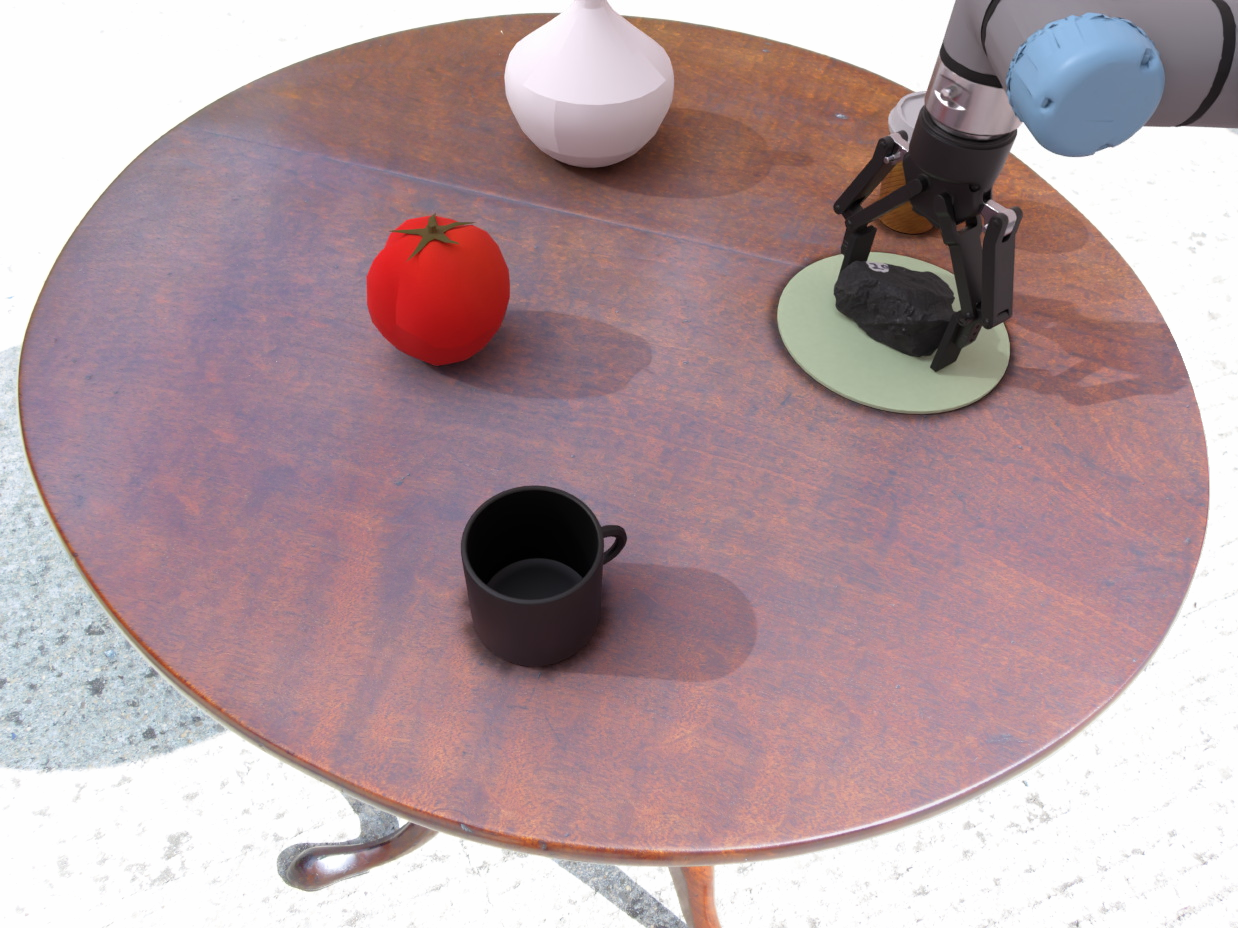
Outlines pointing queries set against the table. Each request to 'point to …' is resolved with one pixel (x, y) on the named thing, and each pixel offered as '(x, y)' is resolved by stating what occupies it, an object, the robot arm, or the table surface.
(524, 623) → the mug
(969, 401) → the mat
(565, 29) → the vase
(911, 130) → the disposable coffee cup
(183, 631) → the table surface
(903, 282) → the rock
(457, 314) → the tomato
